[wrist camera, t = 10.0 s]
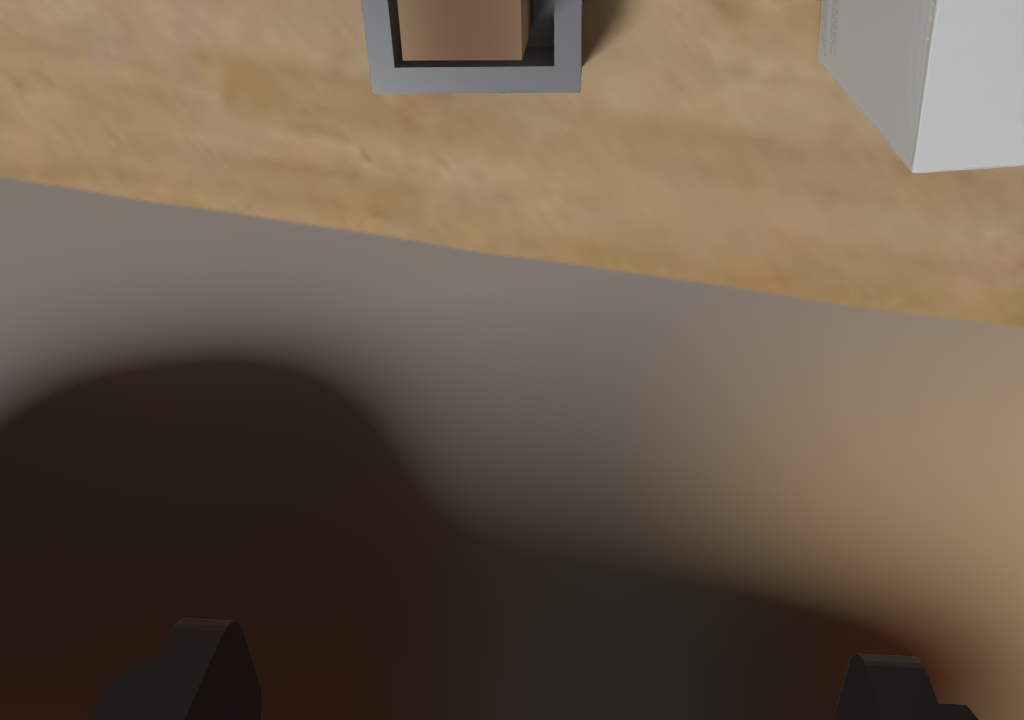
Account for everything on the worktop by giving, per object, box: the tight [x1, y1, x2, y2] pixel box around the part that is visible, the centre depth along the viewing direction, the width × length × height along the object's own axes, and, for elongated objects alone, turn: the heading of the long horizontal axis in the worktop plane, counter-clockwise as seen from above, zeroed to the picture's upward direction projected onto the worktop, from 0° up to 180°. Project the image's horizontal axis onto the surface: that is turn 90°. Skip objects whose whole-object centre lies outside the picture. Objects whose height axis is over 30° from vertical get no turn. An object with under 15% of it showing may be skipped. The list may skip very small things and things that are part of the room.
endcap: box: [361, 0, 583, 94], centre depth 34 cm, size 8×5×4 cm, turn 92°
